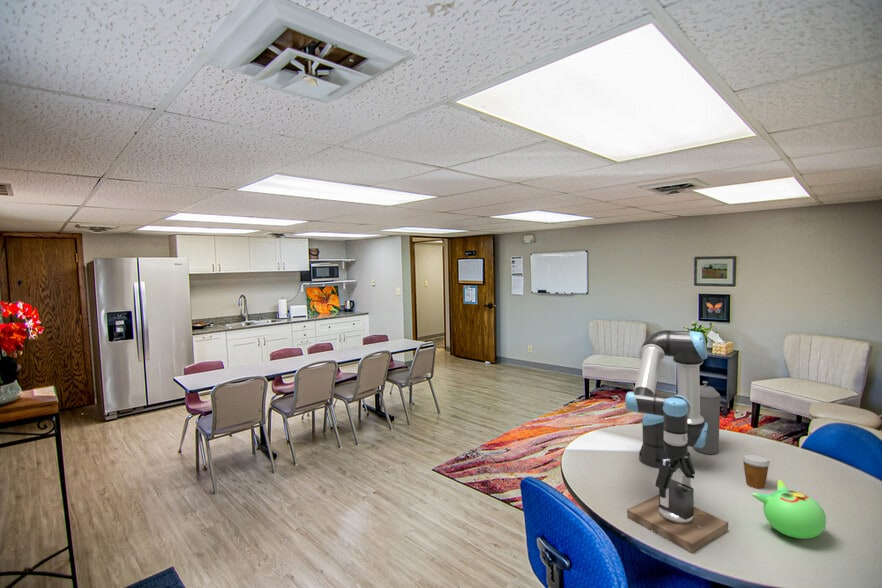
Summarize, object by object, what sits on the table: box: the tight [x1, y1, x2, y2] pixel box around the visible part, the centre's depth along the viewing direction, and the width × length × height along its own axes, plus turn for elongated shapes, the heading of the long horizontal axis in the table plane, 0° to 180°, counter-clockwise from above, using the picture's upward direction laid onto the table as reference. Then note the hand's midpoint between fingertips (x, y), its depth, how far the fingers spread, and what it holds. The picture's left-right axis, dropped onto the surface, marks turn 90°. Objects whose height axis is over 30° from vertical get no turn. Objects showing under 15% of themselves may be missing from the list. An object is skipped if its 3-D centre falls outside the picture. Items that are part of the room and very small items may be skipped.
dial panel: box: [626, 494, 729, 554], centre depth 153 cm, size 24×22×3 cm
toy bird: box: [751, 479, 827, 540], centre depth 146 cm, size 18×17×15 cm
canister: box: [692, 380, 721, 455], centre depth 212 cm, size 13×13×35 cm
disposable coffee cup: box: [741, 452, 771, 490], centre depth 178 cm, size 10×10×12 cm
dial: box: [658, 478, 695, 524], centre depth 153 cm, size 11×11×12 cm
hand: (675, 500), depth 153 cm, fingers open, 13 cm apart
